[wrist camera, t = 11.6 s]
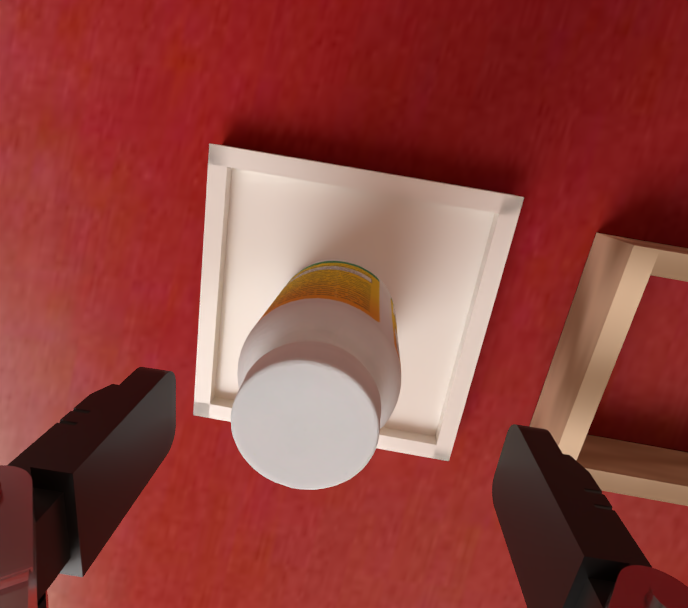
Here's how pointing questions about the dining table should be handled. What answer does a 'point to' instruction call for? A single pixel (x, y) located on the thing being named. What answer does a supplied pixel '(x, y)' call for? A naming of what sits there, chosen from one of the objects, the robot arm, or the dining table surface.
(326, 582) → the dining table surface
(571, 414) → the oak holder
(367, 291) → the supplement bottle
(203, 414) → the ceramic tray
